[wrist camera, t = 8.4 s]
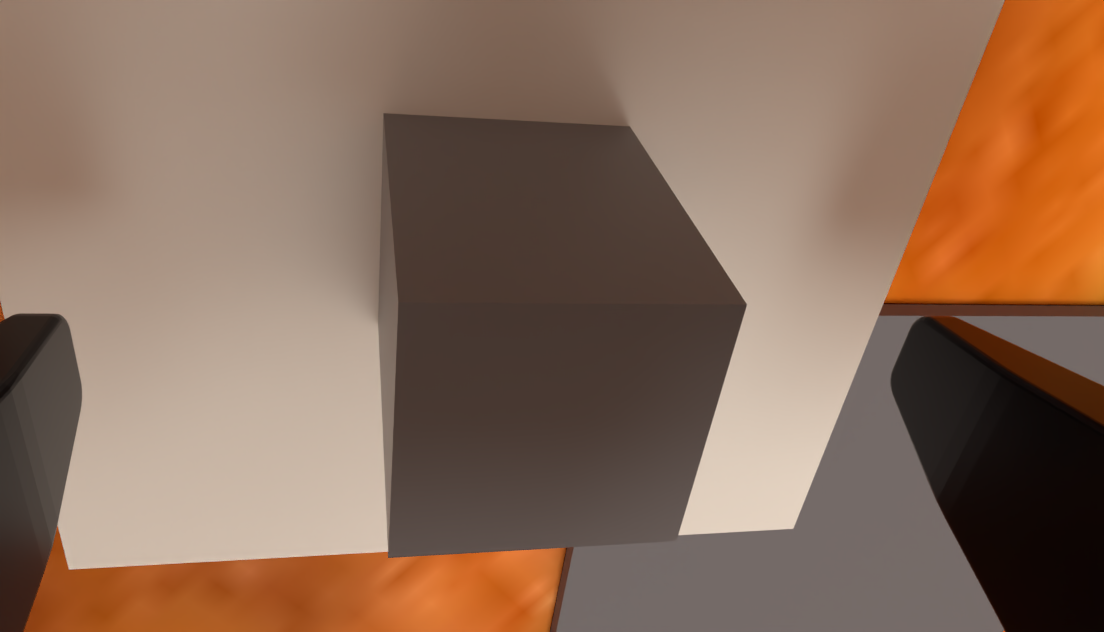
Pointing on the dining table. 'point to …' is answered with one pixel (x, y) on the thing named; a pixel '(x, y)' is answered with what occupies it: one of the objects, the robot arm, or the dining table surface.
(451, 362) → the cover
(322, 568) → the dining table surface
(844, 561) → the mat
